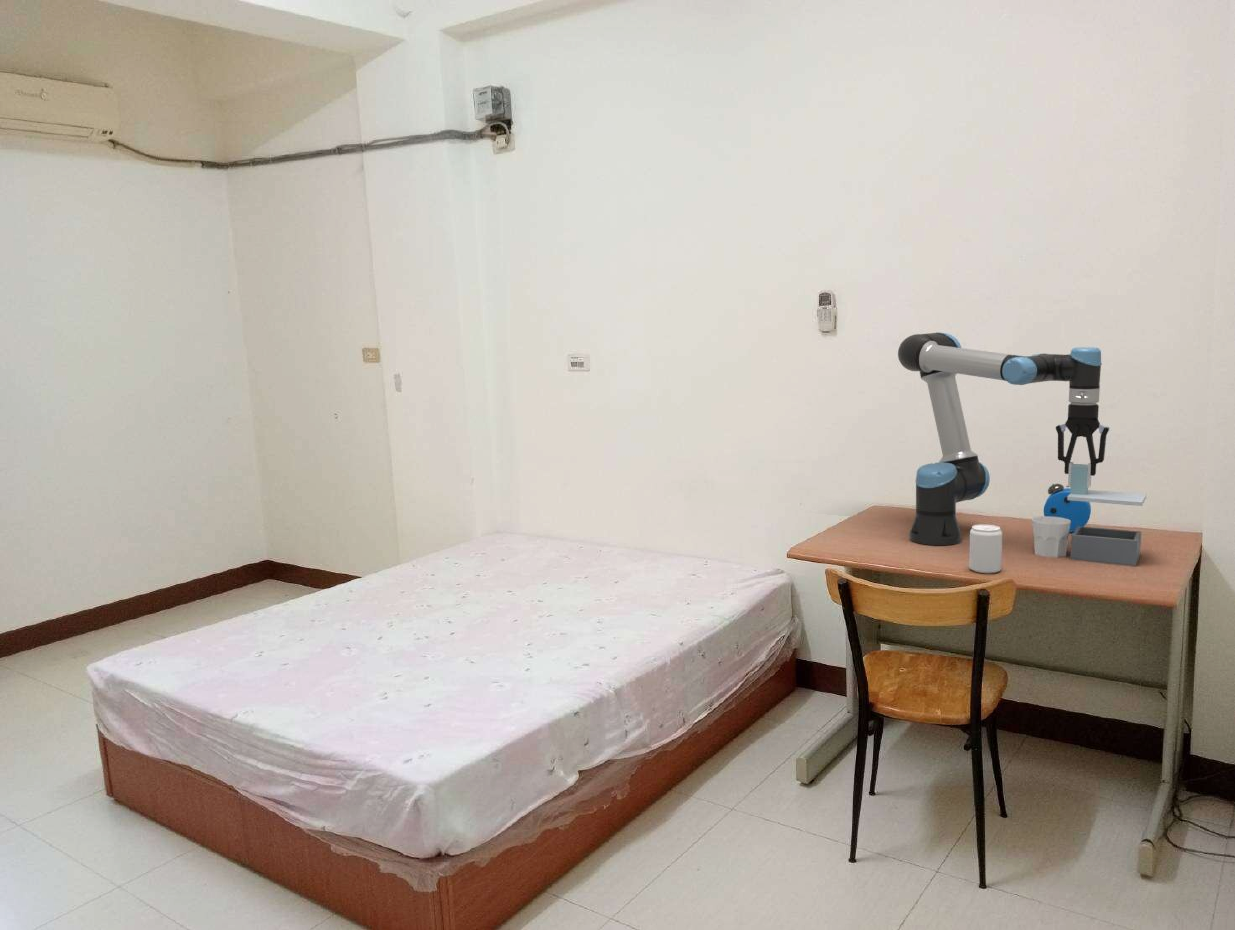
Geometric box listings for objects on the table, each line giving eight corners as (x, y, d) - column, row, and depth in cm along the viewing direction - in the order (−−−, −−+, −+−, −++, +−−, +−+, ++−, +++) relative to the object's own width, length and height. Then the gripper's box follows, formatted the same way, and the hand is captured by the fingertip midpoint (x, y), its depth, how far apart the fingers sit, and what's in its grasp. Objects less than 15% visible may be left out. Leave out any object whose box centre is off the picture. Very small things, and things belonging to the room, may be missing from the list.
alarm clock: (1090, 530, 284) (1092, 483, 282) (1089, 534, 279) (1091, 487, 277) (1044, 527, 291) (1045, 481, 288) (1042, 531, 286) (1044, 484, 283)
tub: (1070, 559, 253) (1071, 535, 252) (1076, 549, 263) (1077, 526, 262) (1135, 566, 244) (1137, 541, 243) (1140, 555, 254) (1141, 531, 253)
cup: (1023, 552, 263) (1024, 519, 261) (1048, 547, 266) (1049, 515, 265) (1051, 560, 253) (1053, 525, 252) (1077, 555, 257) (1078, 521, 256)
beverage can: (963, 567, 250) (964, 525, 248) (992, 565, 251) (993, 523, 249) (977, 575, 242) (978, 531, 240) (1006, 573, 243) (1008, 529, 241)
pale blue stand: (1067, 500, 251) (1069, 468, 250) (1074, 492, 262) (1076, 461, 260) (1141, 506, 241) (1144, 472, 240) (1146, 497, 252) (1148, 465, 250)
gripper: (1047, 404, 253) (1043, 486, 256) (1116, 405, 243) (1111, 491, 247) (1052, 401, 259) (1048, 481, 263) (1120, 402, 249) (1115, 486, 253)
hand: (1079, 485), depth 255 cm, fingers closed on pale blue stand, 4 cm apart
